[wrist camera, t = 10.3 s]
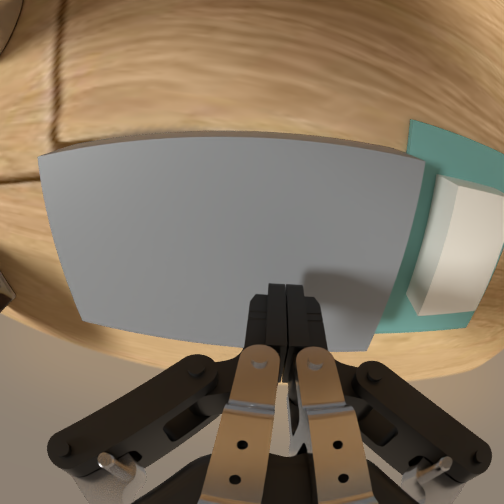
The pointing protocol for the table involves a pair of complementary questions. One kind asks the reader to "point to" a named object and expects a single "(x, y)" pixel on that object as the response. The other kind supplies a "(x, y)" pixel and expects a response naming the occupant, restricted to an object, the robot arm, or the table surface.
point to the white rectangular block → (457, 247)
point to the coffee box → (5, 293)
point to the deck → (229, 229)
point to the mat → (437, 162)
